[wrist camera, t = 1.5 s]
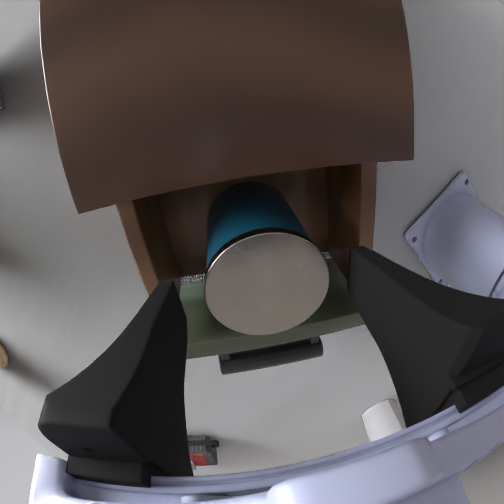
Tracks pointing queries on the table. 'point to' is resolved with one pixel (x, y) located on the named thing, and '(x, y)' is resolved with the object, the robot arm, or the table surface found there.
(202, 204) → the drawer
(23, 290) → the table surface
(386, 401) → the white cup
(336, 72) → the cabinet
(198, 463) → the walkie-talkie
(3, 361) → the hand bell
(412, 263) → the table surface
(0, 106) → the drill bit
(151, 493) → the robot arm
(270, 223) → the tin
